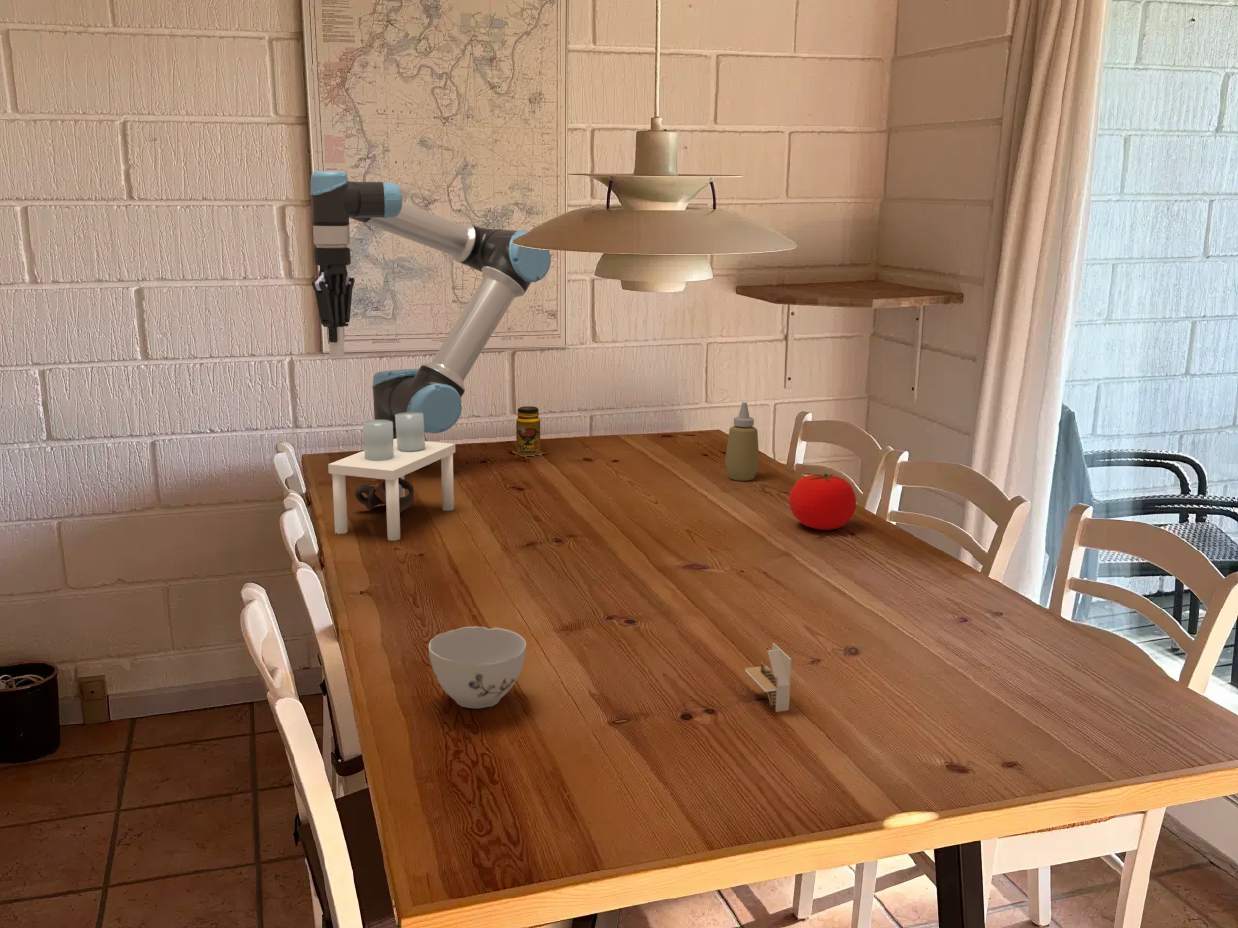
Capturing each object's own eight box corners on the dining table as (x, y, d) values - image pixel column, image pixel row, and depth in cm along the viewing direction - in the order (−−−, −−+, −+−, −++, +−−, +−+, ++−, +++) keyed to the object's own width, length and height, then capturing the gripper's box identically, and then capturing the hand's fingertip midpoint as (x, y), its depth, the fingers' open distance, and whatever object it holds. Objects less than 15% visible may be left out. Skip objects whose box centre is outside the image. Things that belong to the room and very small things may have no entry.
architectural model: (764, 716, 142) (767, 662, 140) (744, 693, 149) (746, 641, 147) (789, 713, 143) (792, 659, 141) (767, 691, 150) (770, 639, 148)
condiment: (523, 458, 278) (523, 411, 275) (506, 452, 285) (506, 406, 282) (548, 454, 282) (548, 408, 279) (531, 448, 289) (530, 403, 286)
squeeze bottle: (735, 472, 266) (737, 398, 262) (765, 477, 262) (768, 402, 258) (717, 479, 260) (720, 403, 256) (748, 484, 255) (751, 407, 251)
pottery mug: (406, 505, 237) (416, 476, 233) (407, 535, 230) (418, 506, 225) (349, 495, 233) (359, 465, 228) (349, 525, 226) (359, 496, 221)
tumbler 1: (374, 453, 221) (373, 418, 219) (399, 455, 219) (398, 420, 217) (359, 459, 216) (357, 423, 214) (384, 461, 214) (383, 426, 212)
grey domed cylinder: (401, 445, 228) (399, 412, 226) (428, 445, 227) (426, 411, 226) (394, 451, 222) (391, 416, 221) (421, 450, 222) (419, 416, 220)
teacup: (535, 715, 141) (535, 656, 139) (436, 726, 137) (434, 666, 135) (513, 667, 155) (512, 613, 153) (422, 677, 151) (421, 622, 150)
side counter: (397, 501, 238) (395, 438, 234) (456, 508, 233) (455, 443, 230) (331, 533, 215) (328, 464, 211) (395, 541, 210) (392, 470, 207)
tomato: (865, 532, 220) (869, 478, 217) (807, 538, 215) (810, 483, 213) (834, 516, 231) (837, 464, 228) (778, 522, 226) (780, 469, 224)
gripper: (334, 244, 243) (339, 352, 248) (298, 247, 231) (304, 359, 236) (364, 245, 240) (368, 354, 246) (329, 248, 228) (335, 362, 234)
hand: (337, 356), depth 241 cm, fingers closed
